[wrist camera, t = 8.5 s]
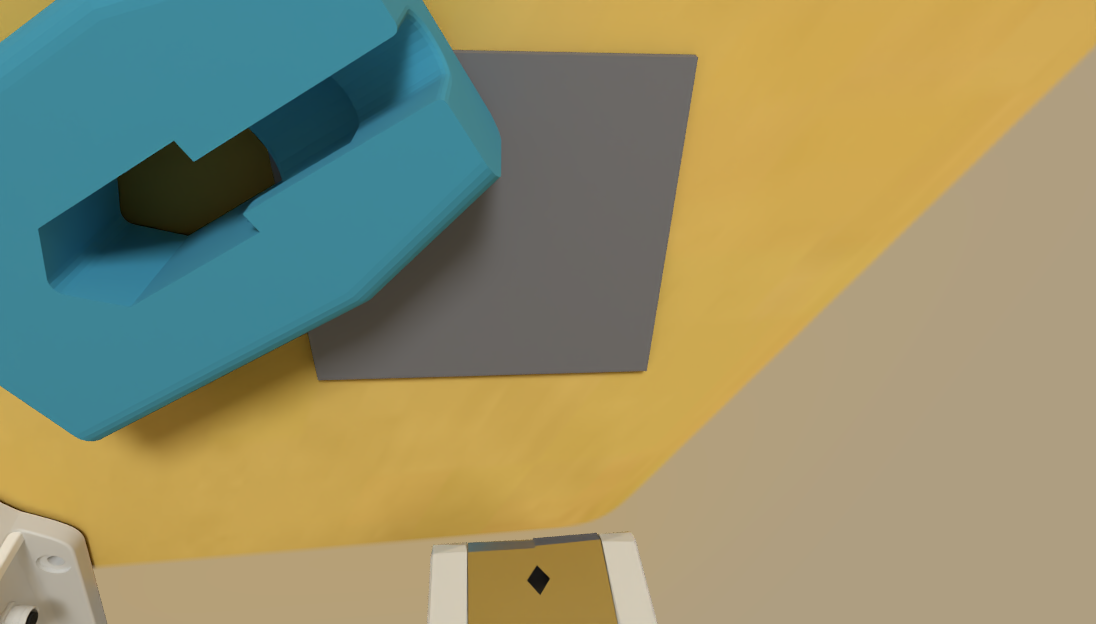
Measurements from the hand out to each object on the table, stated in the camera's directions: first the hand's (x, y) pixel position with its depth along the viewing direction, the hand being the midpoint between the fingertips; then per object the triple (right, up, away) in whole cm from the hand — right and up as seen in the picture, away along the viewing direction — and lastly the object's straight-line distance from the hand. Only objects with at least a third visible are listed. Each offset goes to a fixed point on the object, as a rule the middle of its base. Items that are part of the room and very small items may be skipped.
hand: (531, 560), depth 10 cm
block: (-3, +12, +10) cm, 16 cm away
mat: (-3, +7, +18) cm, 19 cm away
